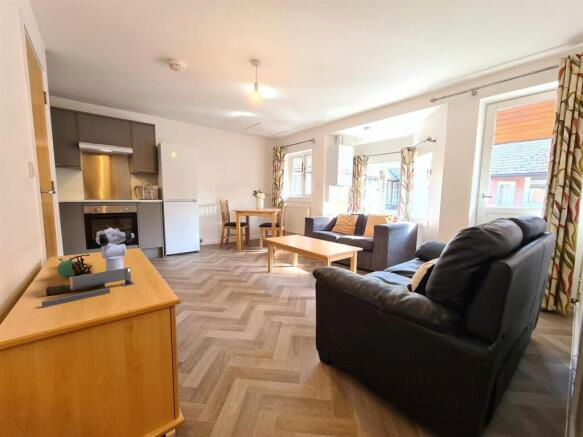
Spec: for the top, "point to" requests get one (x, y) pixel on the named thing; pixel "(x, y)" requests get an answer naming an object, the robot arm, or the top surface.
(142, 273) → the top surface
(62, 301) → the bar
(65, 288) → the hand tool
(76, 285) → the swing gate
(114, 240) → the robot arm
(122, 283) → the gate base
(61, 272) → the alien toy
